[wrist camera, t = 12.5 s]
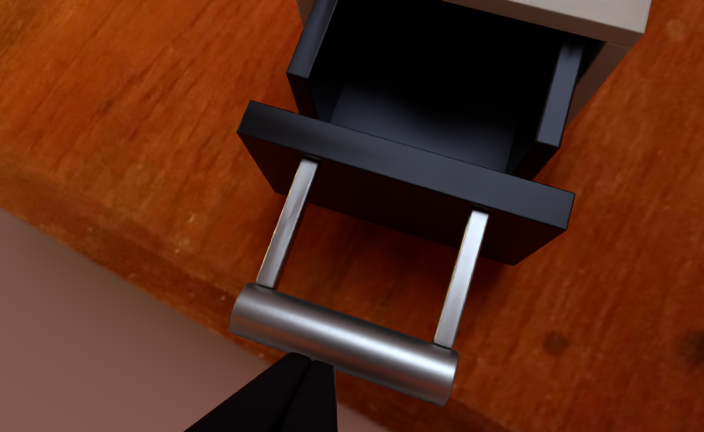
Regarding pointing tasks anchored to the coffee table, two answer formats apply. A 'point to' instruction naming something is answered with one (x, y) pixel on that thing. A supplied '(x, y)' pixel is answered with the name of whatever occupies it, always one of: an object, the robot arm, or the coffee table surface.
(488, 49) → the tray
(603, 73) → the grey drawer unit
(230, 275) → the coffee table surface
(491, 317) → the coffee table surface
